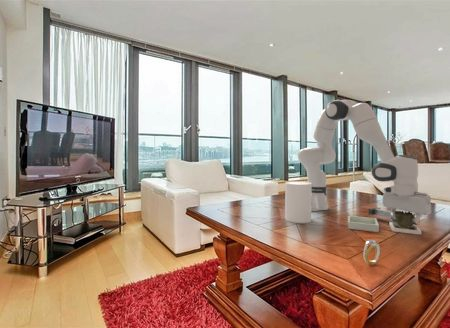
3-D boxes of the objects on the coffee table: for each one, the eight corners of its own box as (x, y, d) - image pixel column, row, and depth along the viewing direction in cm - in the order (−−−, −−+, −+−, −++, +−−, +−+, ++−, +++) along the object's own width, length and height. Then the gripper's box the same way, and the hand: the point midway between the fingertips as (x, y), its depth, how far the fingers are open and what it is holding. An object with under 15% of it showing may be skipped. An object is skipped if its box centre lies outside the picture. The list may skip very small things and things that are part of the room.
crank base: (391, 224, 122) (391, 220, 122) (389, 222, 126) (389, 218, 126) (404, 226, 119) (404, 222, 119) (402, 223, 124) (402, 219, 124)
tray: (348, 228, 117) (348, 222, 117) (348, 221, 128) (348, 215, 128) (378, 232, 112) (378, 225, 111) (376, 224, 123) (376, 218, 123)
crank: (422, 224, 115) (422, 215, 115) (413, 225, 113) (413, 216, 112) (376, 212, 136) (376, 205, 136) (368, 214, 134) (368, 206, 133)
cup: (417, 232, 110) (418, 214, 110) (399, 231, 112) (399, 214, 111) (409, 227, 118) (409, 210, 117) (391, 226, 119) (392, 210, 119)
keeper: (392, 231, 112) (392, 228, 112) (389, 225, 122) (389, 222, 122) (421, 234, 108) (421, 231, 108) (415, 227, 117) (415, 224, 117)
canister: (283, 216, 141) (283, 181, 140) (307, 216, 140) (307, 181, 139) (287, 223, 127) (288, 184, 126) (314, 223, 127) (314, 184, 125)
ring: (374, 260, 84) (374, 237, 83) (383, 264, 81) (383, 240, 80) (359, 264, 81) (359, 240, 81) (368, 268, 78) (369, 243, 78)
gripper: (435, 193, 105) (434, 225, 105) (389, 187, 124) (389, 214, 125) (425, 194, 103) (424, 227, 103) (380, 187, 122) (380, 215, 123)
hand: (404, 219), depth 114 cm, fingers open, 8 cm apart
